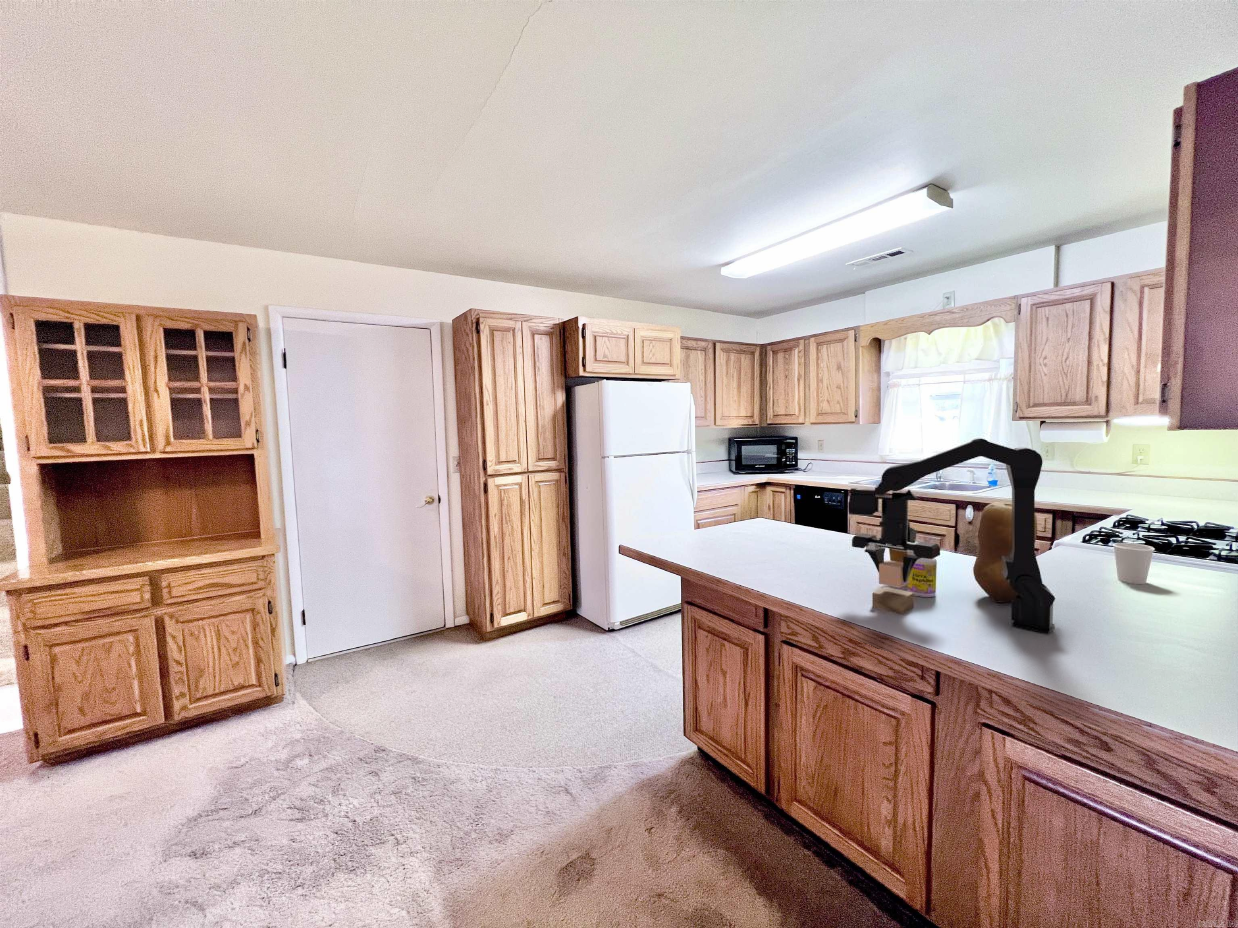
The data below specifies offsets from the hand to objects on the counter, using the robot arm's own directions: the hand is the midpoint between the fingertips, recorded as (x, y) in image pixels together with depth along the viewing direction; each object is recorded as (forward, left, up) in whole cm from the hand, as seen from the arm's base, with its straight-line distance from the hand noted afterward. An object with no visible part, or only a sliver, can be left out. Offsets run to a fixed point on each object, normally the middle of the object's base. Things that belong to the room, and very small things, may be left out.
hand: (893, 579), depth 128 cm
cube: (0, 0, -1) cm, 1 cm away
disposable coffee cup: (+6, -24, -7) cm, 26 cm away
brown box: (0, 0, -7) cm, 7 cm away
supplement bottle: (-1, -16, -7) cm, 18 cm away
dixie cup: (-37, -69, -7) cm, 79 cm away
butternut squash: (-17, -25, -7) cm, 31 cm away
